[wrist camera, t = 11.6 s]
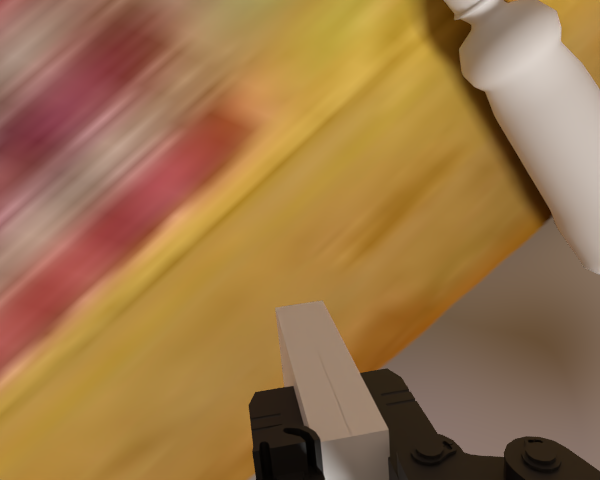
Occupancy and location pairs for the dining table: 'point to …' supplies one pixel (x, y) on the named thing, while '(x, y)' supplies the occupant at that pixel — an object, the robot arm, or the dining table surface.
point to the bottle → (540, 108)
